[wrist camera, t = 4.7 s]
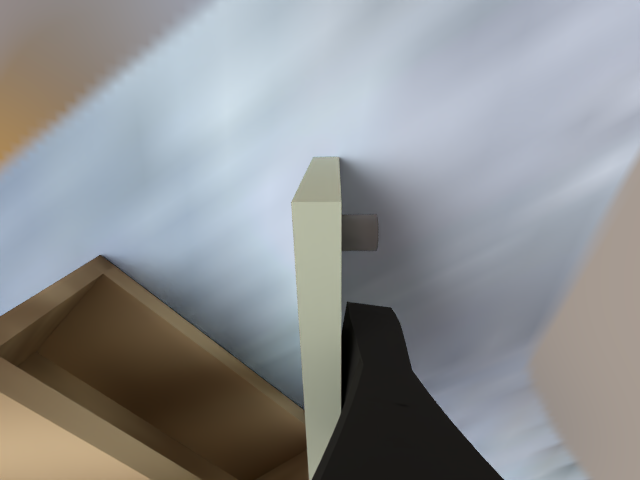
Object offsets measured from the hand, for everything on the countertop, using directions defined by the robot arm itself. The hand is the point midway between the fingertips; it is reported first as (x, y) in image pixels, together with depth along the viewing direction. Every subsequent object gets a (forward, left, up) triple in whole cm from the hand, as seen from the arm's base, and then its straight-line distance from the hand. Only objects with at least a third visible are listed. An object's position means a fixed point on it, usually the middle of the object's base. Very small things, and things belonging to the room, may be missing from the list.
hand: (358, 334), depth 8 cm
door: (-1, +1, -3) cm, 3 cm away
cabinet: (+1, +9, -3) cm, 10 cm away
